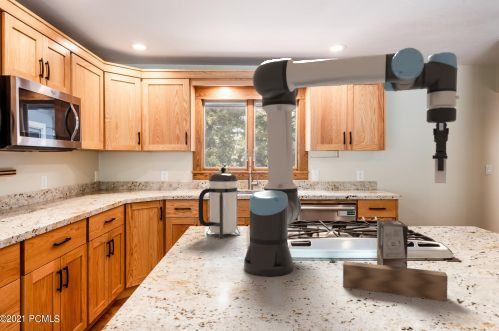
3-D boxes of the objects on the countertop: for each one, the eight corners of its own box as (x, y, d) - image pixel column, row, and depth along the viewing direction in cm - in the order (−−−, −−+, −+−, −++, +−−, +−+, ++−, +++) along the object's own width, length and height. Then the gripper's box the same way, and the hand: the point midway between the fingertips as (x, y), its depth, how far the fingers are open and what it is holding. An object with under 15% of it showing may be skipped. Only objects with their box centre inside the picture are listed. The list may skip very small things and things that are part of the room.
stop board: (342, 286, 88) (343, 264, 88) (344, 282, 91) (344, 260, 91) (447, 301, 80) (447, 276, 79) (444, 296, 82) (445, 272, 82)
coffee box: (408, 287, 88) (408, 226, 88) (382, 285, 89) (382, 225, 89) (399, 275, 97) (400, 220, 97) (376, 273, 98) (376, 219, 98)
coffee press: (208, 230, 157) (208, 166, 156) (242, 231, 155) (242, 166, 154) (198, 239, 140) (197, 167, 139) (235, 240, 137) (235, 167, 137)
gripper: (459, 100, 84) (457, 185, 85) (454, 112, 106) (453, 179, 107) (425, 103, 88) (424, 183, 88) (427, 114, 110) (426, 178, 110)
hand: (440, 181), depth 97 cm, fingers open, 13 cm apart
